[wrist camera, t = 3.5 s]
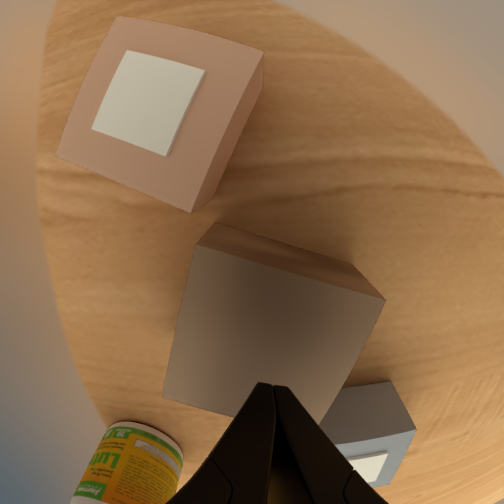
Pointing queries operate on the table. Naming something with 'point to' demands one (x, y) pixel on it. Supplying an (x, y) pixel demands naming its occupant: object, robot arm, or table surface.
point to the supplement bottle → (131, 467)
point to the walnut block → (266, 323)
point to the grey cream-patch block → (370, 430)
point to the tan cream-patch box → (163, 110)
